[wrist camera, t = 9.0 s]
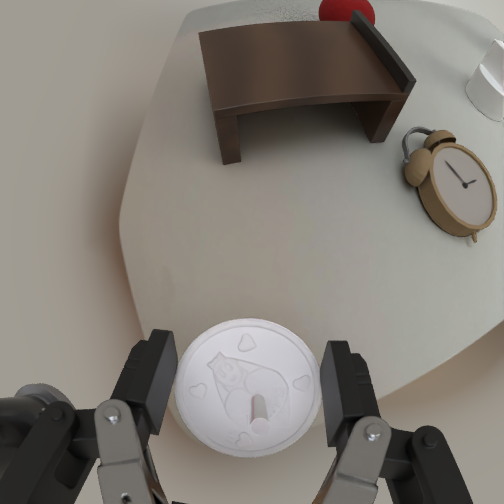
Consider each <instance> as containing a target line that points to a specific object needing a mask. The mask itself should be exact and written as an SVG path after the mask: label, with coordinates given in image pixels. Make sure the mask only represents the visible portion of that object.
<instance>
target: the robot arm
mask: <svg viewBox="0 0 504 504" xmlns="http://www.w3.org/2000/svg"><path fill="white" fill-rule="evenodd" d="M177 363H178V358H177V352H176V346H175V341H174V335H173V332H172V331H168V330H159V329H153V331H152V333H151V335H150V337H149V340H148V341H145V340H140V341H139V342H138V343H137V344H136V345H135V346H134V347H133V348H132V349H131V352H130V354H129V356H128V360H127V361H126V363H125V365H124V368H123V370H122V372H121V374H120V377H119V379H118V381H117V384H116V386H115V389H114V391H113V393H112V396H111V398H110V399H109V400H106V401H104V402H102V403H101V404H100V405H99V406H98V407H97V408H95V409H83V410H74V409H73V408H72V406H71V405H70V404H69V403H67V402H65V401H55V402H52V403H51V402H50V401H48V400H47V399H46V398H44V397H42V396H40V395H37V394H27V395H24V396H17V397H8V398H0V504H74V503H75V501H76V499H77V497H78V495H79V493H80V491H81V489H82V487H83V485H84V483H85V481H86V479H87V477H88V475H89V473H90V471H91V469H92V467H93V465H94V463H95V461H96V459H97V458H100V461H101V464H100V466H98V469H97V473H98V479H99V484H100V489H101V494H102V498H103V503H104V504H168V501H167V499H166V496H165V494H164V492H163V490H162V488H161V485H160V483H159V479H158V476H157V473H156V470H155V466H154V463H153V460H152V456H151V452H150V449H149V445H148V440H149V437H150V434H153V435H159V432H160V428H161V424H162V421H163V417H164V413H165V409H166V406H167V402H168V399H169V395H170V392H171V388H172V384H173V381H174V377H175V374H176V370H177ZM320 383H321V391H322V399H323V407H324V416H325V425H326V434H327V443H328V447H336V451H337V455H336V457H335V459H334V461H333V463H332V466H331V468H330V470H329V472H328V474H327V476H326V478H325V480H324V482H323V484H322V486H321V488H320V490H319V492H318V494H317V496H316V498H315V499H314V501H313V502H312V504H373V503H374V501H375V498H376V495H377V492H378V486H377V485H376V483H377V480H378V477H381V478H385V480H386V483H387V486H388V489H389V492H390V495H391V498H392V501H393V504H473V502H472V499H471V497H470V494H469V492H468V489H467V487H466V485H465V482H464V480H463V477H462V475H461V473H460V470H459V468H458V466H457V463H456V461H455V459H454V457H453V454H452V453H451V450H450V448H449V446H448V444H447V441H446V439H445V437H444V435H443V434H442V432H441V431H440V430H439V429H437V428H436V427H433V426H422V427H420V428H418V429H417V430H416V431H415V432H409V431H403V430H397V429H394V428H392V427H390V426H389V425H388V424H387V422H386V421H384V420H383V419H382V418H381V416H380V413H379V409H378V405H377V401H376V397H375V393H374V389H373V385H372V384H371V378H370V375H369V371H368V367H367V363H366V362H365V360H364V359H363V358H362V357H361V355H360V354H359V353H351V352H350V348H349V345H348V342H347V341H328V342H327V345H326V349H325V352H324V356H323V360H322V363H321V368H320ZM172 504H185V503H179V502H174V501H172Z"/></svg>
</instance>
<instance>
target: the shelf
mask: <svg viewBox="0 0 504 504" xmlns="http://www.w3.org/2000/svg"><path fill="white" fill-rule="evenodd" d="M198 34H199V39H200V45H201V51H202V56H203V62H204V67H205V73H206V78H207V83H208V89H209V94H210V99H211V104H212V109H213V115H214V120H215V125H216V130H217V135H218V140H219V145H220V150H221V155H222V160H223V165H227V164H232V163H237V162H241V155H240V144H239V134H238V123H237V115H240V114H246V113H252V112H258V111H265V110H272V109H279V108H287V107H296V106H305V105H315V104H326V103H339V102H351V104H352V106H353V108H354V110H355V112H356V114H357V116H358V118H359V120H360V122H361V124H362V126H363V128H364V130H365V132H366V134H367V136H368V138H369V140H370V143H377V142H384V141H385V139H386V137H387V135H388V134H389V132H390V130H391V128H392V126H393V125H394V123H395V121H396V119H397V117H398V115H399V113H400V112H401V110H402V108H403V106H404V104H405V102H406V100H407V98H408V96H409V95H410V93H411V91H412V89H413V87H414V85H415V83H416V79H415V78H414V76H413V75H412V74H411V72H410V71H409V69H408V68H407V67H406V65H405V64H404V63H403V61H402V60H401V59H400V57H399V56H398V55H397V53H396V52H395V51H394V50H393V48H392V47H391V46H390V45H389V43H388V42H387V41H386V40H385V39H384V37H383V36H382V35H381V34H380V33H379V31H378V30H377V29H376V28H375V27H374V26H373V25H372V23H371V22H370V21H369V20H368V19H367V18H366V17H365V16H364V15H363V14H362V12H361V11H360V10H353V11H352V16H351V20H350V22H348V21H292V22H275V23H263V24H253V25H244V26H236V27H229V28H223V29H216V30H211V31H205V32H200V33H198Z"/></svg>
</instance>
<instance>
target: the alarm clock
mask: <svg viewBox="0 0 504 504" xmlns="http://www.w3.org/2000/svg"><path fill="white" fill-rule="evenodd" d="M414 132H420V133H424V134H426V135H429V136H428V137H427V138H426V140H425V143H424V149H423V148H420V149H417V150H415V151H413V152H412V153H411V154H409V149H408V145H407V138H408V136H409V135H410V134H411V133H414ZM455 142H456V138H455V136H454V135H453V134H452V133H450V132H449V131H446V130H438V131H436V130H433V131H431V130H429V129H427V128H424V127H415V128H412V129H410V130H409V131H408V133H407V134H406V135H405V137H404V139H403V141H402V148H403V152H404V156H405V159H404V160H403V162H404V163H405V176H406V179H407V181H408V182H409V183H410V184H411V185H412V186H414V187H417V186H418V190H419V195H420V197H421V200H422V202H423V205H424V207H425V209H426V210H427V212H428V213H429V215H430V216H431V218H432V219H433V221H434V222H435V223H437V224H438V225H439V226H440V227H441V228H442V229H443V230H444V231H446V232H448V233H450V234H452V235H454V236H461V237H465V236H468V235H472V239H473V241H474V243H475V242H477V236H476V232H477V231H479V230H481V229H484V228H486V227H488V226H489V225H490V224H491V222H492V221H493V220H494V217H495V214H496V211H497V195H496V191H495V186H494V183H493V181H492V179H491V176H490V174H489V172H488V171H487V169H486V168H485V166H484V165H483V163H482V162H481V160H480V159H479V158H478V157H477V156H476V155H475V154H474V153H473V152H471V151H470V150H468V149H467V148H465V147H464V146H462V145H459V144H456V143H455Z"/></svg>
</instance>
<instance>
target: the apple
mask: <svg viewBox="0 0 504 504" xmlns="http://www.w3.org/2000/svg"><path fill="white" fill-rule="evenodd" d="M353 10H360V11H361V12H362V14H363V15H364V16H365V17H366V18H367V19H368V20H369V21H370V22H371V23H372V25H373V26H374V24H375V13H374V10H373V7H372V6H371V4H370V3H369V2H368V1H367V0H323V1H322V2H321V4H320V7H319V19H320V21H348V22H350V20H351V16H352V11H353Z"/></svg>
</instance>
